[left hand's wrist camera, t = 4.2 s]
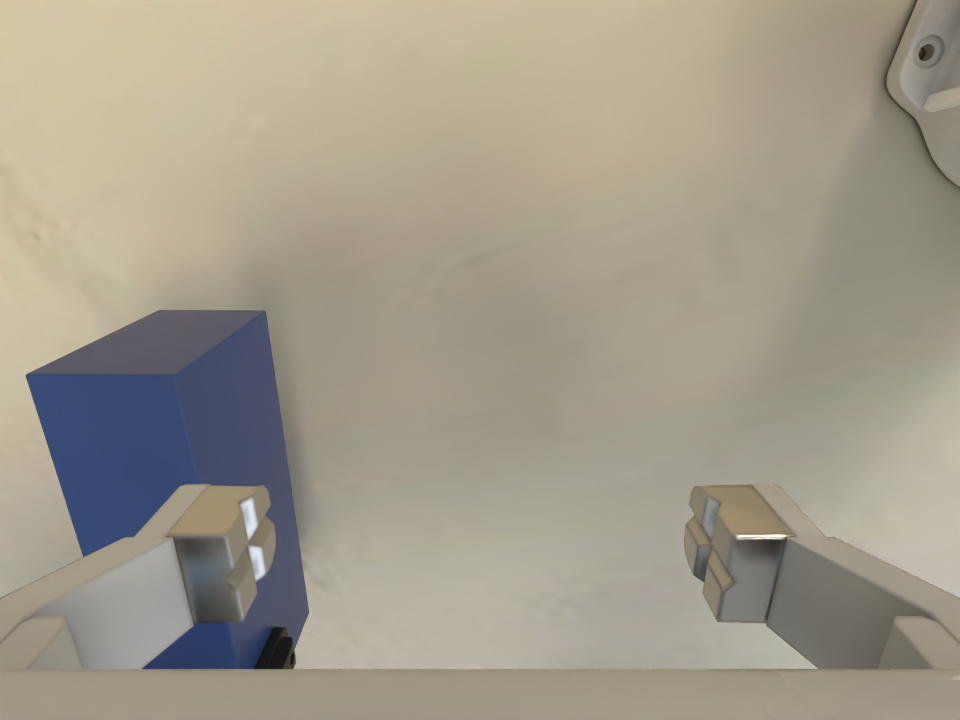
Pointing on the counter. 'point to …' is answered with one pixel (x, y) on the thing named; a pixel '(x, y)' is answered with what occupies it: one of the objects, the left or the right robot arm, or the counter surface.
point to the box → (177, 451)
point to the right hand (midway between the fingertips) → (226, 637)
